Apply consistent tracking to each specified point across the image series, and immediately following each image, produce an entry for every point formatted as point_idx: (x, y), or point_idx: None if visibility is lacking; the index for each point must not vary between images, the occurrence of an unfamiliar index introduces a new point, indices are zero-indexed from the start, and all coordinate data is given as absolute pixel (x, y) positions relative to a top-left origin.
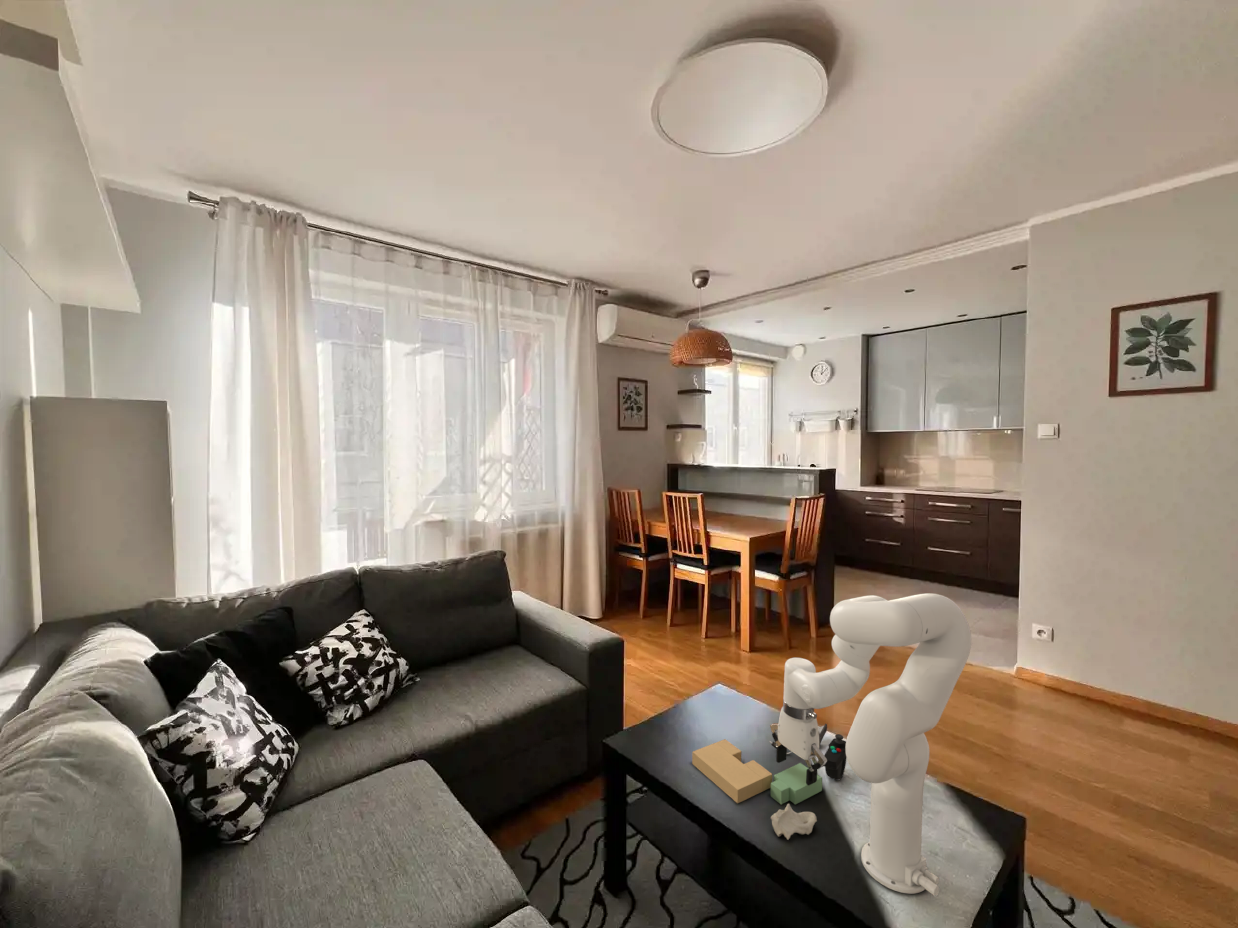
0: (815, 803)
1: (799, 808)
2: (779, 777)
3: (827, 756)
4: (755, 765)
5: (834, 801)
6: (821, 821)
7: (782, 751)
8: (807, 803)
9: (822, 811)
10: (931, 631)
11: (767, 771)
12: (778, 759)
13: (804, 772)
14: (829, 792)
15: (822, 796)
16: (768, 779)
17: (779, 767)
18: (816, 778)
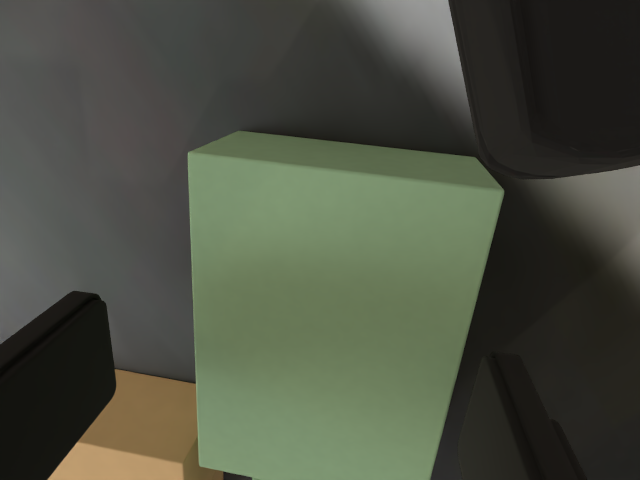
0: (510, 326)
1: (454, 432)
2: (241, 460)
3: (600, 6)
4: None
5: (625, 196)
6: (624, 439)
7: (31, 436)
8: (467, 363)
9: (590, 360)
10: None
11: (145, 463)
12: (93, 418)
13: (322, 264)
14: None
15: (514, 219)
16: (198, 466)
17: (90, 181)
18: (562, 443)
